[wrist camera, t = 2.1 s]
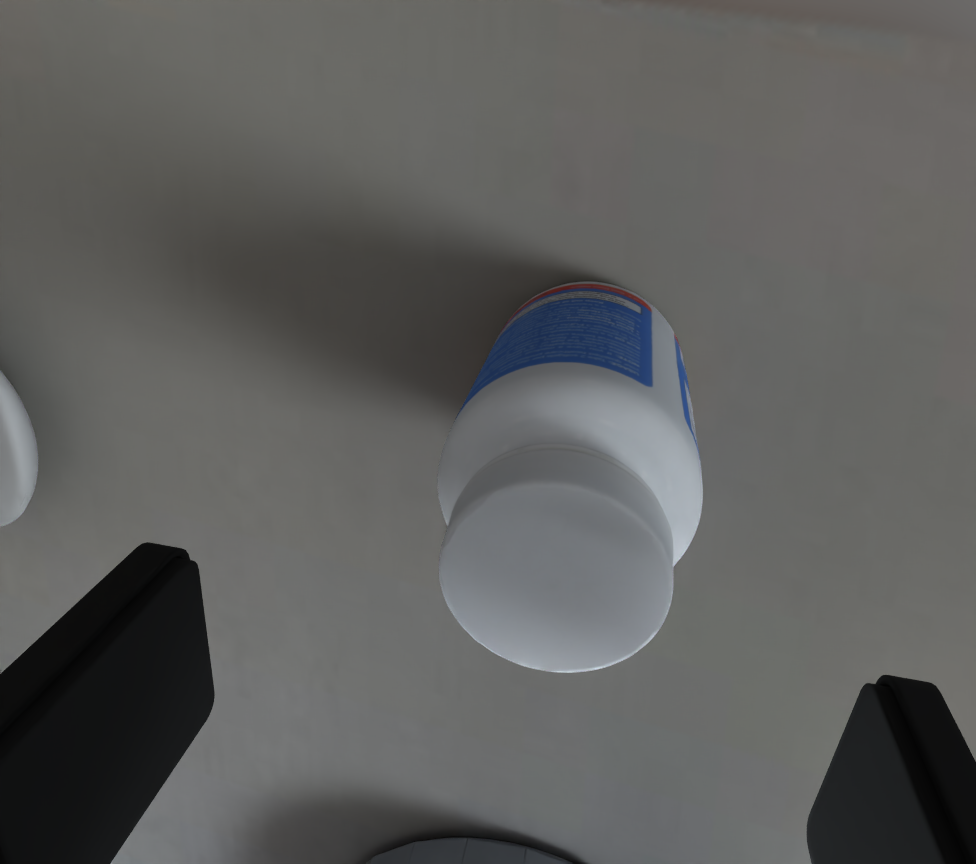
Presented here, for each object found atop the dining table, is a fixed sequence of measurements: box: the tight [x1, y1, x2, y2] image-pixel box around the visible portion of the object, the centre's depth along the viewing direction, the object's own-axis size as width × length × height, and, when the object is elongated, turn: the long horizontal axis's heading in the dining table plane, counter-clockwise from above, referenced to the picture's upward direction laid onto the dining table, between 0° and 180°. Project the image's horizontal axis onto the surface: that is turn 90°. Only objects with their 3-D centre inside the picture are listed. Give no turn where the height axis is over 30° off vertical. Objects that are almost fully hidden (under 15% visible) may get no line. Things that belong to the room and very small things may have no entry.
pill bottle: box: [438, 281, 703, 672], centre depth 16 cm, size 6×5×10 cm
